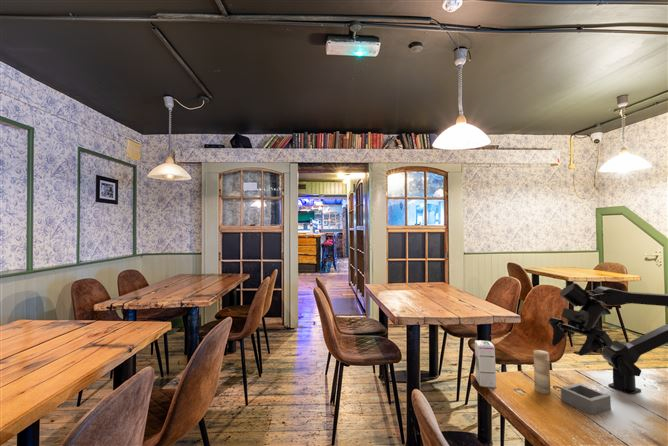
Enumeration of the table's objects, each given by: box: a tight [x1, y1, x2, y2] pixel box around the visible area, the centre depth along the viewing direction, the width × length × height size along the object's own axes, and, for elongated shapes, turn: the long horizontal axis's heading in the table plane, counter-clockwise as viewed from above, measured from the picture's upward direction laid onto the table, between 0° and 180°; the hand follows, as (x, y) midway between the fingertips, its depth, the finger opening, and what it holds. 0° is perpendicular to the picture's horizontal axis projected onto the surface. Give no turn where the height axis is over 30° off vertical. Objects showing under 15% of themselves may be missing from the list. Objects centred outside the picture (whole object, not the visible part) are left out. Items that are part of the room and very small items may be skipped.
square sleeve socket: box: [560, 382, 612, 416], centre depth 98 cm, size 9×9×4 cm
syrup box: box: [474, 339, 497, 388], centre depth 113 cm, size 6×6×14 cm
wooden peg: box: [533, 349, 551, 395], centre depth 107 cm, size 4×4×13 cm
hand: (565, 349), depth 108 cm, fingers open, 9 cm apart
